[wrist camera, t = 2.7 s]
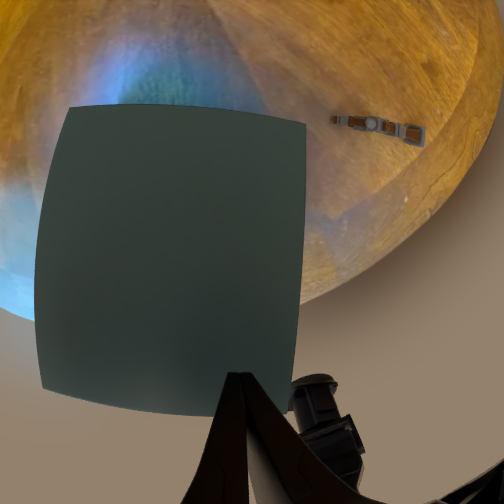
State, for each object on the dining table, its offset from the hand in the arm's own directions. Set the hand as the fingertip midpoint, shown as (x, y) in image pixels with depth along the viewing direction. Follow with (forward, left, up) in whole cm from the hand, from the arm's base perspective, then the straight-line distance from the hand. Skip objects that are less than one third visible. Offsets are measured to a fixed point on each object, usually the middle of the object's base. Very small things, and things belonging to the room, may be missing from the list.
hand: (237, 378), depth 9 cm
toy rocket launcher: (+10, -11, -14) cm, 20 cm away
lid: (+2, +3, -4) cm, 6 cm away
